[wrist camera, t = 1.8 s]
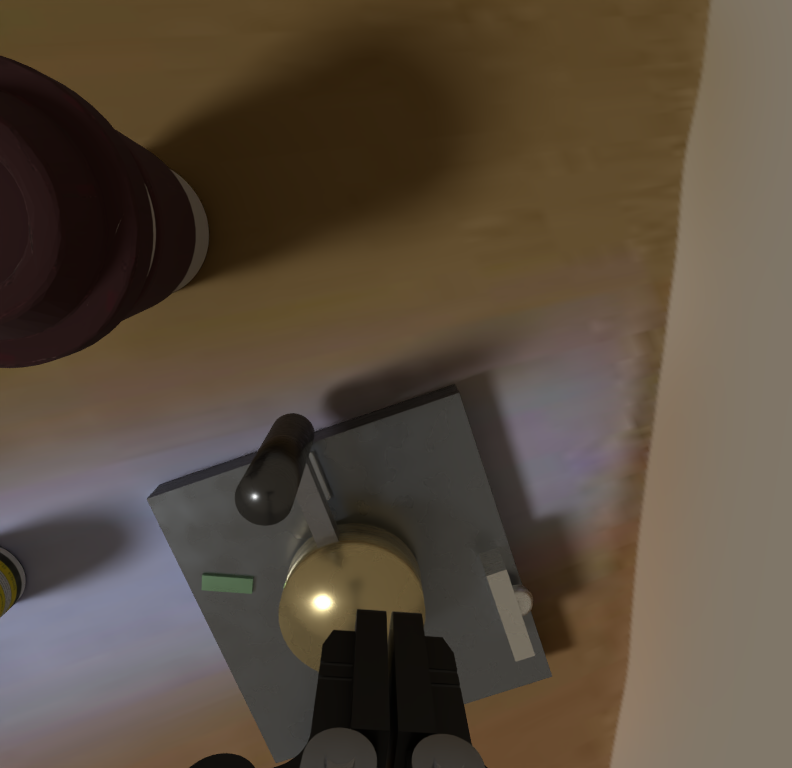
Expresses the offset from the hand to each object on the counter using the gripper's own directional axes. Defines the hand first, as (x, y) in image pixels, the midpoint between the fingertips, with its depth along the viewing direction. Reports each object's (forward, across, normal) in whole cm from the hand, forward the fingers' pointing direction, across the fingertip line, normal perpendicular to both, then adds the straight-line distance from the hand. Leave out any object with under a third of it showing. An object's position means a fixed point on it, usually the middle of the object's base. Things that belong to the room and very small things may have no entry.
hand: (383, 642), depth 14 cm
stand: (+21, 0, +11) cm, 24 cm away
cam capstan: (+18, +2, +7) cm, 20 cm away
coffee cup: (+21, +14, -9) cm, 27 cm away
